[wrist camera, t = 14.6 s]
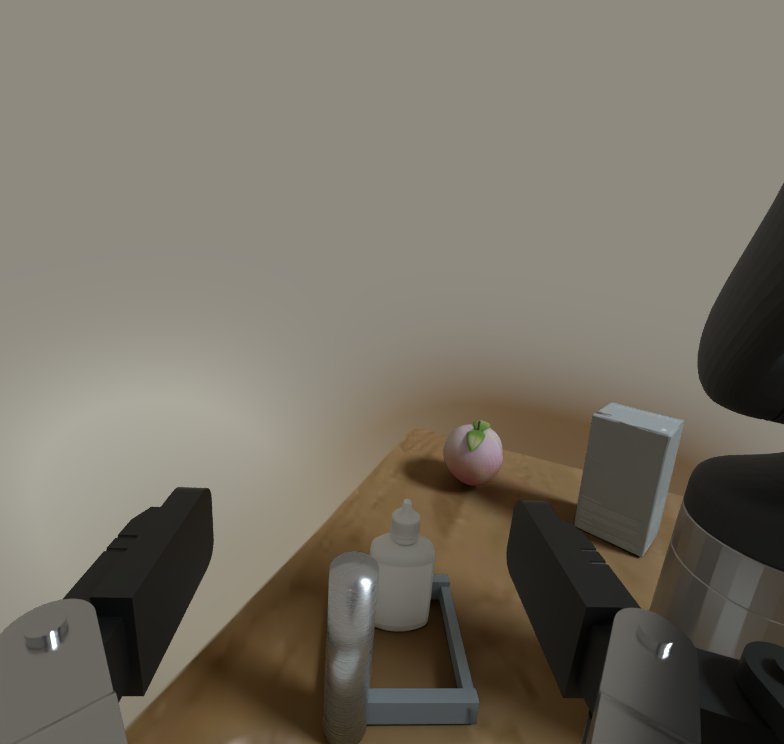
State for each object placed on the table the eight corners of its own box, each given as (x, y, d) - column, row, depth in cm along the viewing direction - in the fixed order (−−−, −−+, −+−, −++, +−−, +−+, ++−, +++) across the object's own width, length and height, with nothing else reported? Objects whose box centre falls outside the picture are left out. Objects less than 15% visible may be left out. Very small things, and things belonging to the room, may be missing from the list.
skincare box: (656, 537, 53) (691, 419, 48) (639, 563, 48) (676, 435, 44) (588, 506, 59) (613, 398, 54) (566, 526, 54) (592, 409, 49)
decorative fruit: (443, 464, 67) (450, 405, 64) (496, 473, 65) (506, 413, 62) (436, 496, 58) (444, 428, 55) (497, 507, 56) (508, 439, 54)
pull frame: (445, 591, 41) (461, 472, 38) (481, 747, 29) (510, 590, 25) (335, 589, 41) (341, 468, 37) (320, 749, 28) (327, 587, 24)
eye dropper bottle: (415, 649, 36) (429, 527, 32) (357, 621, 38) (365, 503, 34) (433, 612, 39) (448, 499, 36) (380, 588, 42) (389, 479, 38)
